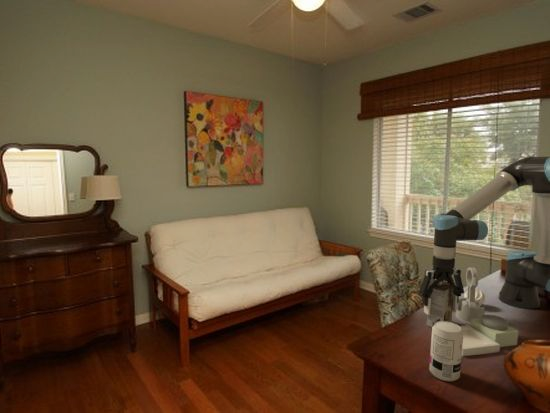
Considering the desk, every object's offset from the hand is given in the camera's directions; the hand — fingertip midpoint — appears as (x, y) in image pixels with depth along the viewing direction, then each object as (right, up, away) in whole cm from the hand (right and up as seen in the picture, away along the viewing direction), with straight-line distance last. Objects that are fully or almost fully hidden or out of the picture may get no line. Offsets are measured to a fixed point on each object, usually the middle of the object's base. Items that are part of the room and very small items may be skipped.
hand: (440, 312), depth 134 cm
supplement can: (-13, -9, -30) cm, 34 cm away
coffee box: (0, -5, +1) cm, 5 cm away
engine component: (+15, -4, +7) cm, 17 cm away
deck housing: (+7, -7, -12) cm, 16 cm away
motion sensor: (+23, -3, +18) cm, 29 cm away
